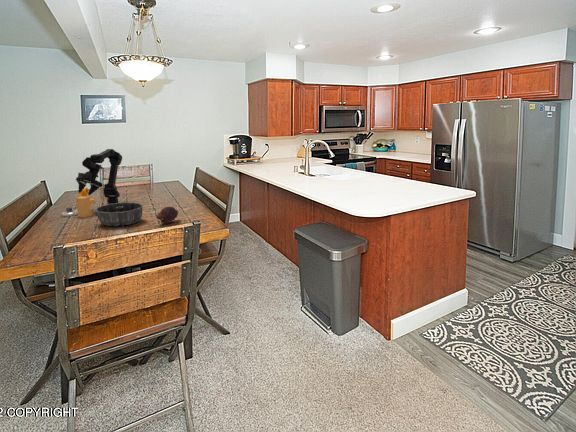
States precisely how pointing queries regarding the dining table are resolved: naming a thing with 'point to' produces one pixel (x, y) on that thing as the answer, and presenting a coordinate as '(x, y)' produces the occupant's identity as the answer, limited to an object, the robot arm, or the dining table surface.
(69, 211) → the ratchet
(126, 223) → the bundt pan
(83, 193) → the bracket
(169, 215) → the pine cone
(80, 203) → the orange rectangular block
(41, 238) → the dining table surface
